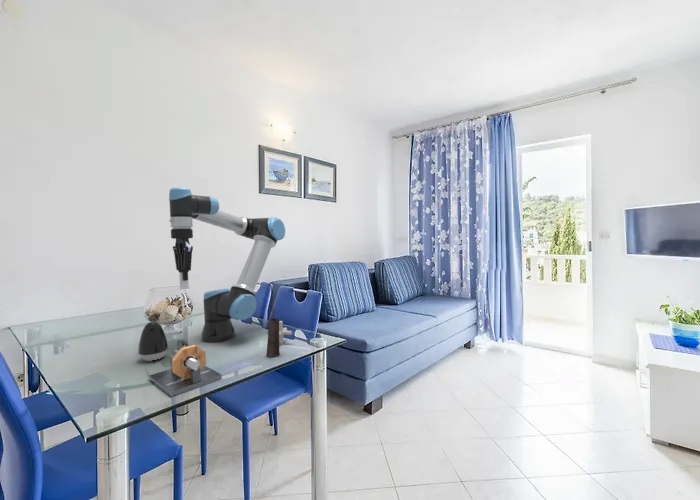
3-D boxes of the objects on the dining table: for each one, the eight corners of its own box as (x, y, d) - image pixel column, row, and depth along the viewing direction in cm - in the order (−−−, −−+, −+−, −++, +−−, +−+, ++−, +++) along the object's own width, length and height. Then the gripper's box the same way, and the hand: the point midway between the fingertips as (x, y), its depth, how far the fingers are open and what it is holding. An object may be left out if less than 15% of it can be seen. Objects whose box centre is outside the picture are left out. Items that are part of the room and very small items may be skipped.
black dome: (137, 366, 122) (135, 326, 121) (140, 357, 131) (138, 320, 130) (168, 361, 127) (166, 322, 126) (169, 352, 136) (167, 317, 135)
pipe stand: (149, 379, 110) (147, 354, 109) (196, 365, 122) (195, 342, 121) (171, 397, 97) (169, 368, 97) (221, 378, 109) (220, 353, 109)
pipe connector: (287, 347, 139) (286, 324, 138) (266, 346, 141) (265, 324, 140) (295, 340, 148) (295, 319, 148) (275, 339, 150) (275, 318, 150)
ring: (172, 381, 104) (171, 350, 103) (203, 370, 111) (202, 342, 111) (175, 382, 102) (173, 351, 102) (206, 372, 110) (205, 343, 110)
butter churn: (287, 358, 127) (285, 287, 125) (262, 361, 124) (260, 289, 123) (285, 350, 135) (283, 284, 134) (262, 353, 133) (259, 286, 131)
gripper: (164, 228, 126) (167, 288, 127) (178, 227, 118) (181, 291, 119) (184, 228, 132) (187, 286, 133) (199, 227, 123) (201, 288, 124)
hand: (184, 288), depth 126 cm, fingers closed
